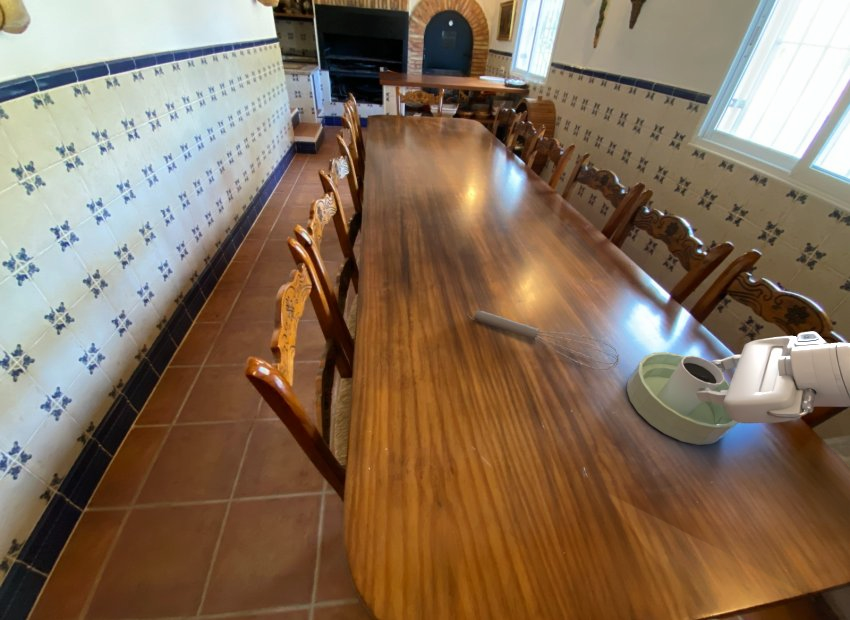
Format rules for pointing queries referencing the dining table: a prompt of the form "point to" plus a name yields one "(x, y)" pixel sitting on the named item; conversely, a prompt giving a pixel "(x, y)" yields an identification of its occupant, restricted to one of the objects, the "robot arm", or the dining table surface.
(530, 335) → the kitchen whisk
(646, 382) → the bowl
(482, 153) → the dining table surface
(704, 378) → the white coffee cup
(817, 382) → the robot arm
